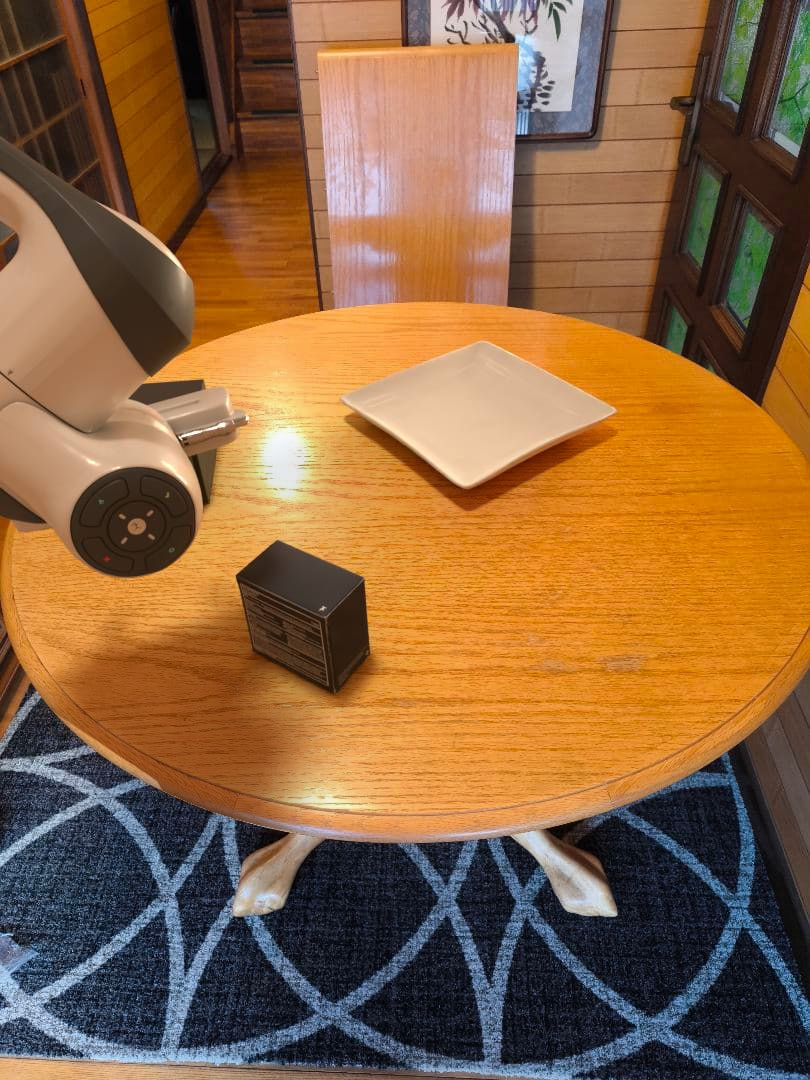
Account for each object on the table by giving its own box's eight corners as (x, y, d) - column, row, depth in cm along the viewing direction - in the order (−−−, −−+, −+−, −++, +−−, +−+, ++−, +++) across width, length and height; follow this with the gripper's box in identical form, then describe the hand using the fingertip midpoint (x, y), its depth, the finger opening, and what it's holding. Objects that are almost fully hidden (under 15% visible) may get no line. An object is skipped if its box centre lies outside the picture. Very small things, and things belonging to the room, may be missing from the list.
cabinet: (209, 503, 93) (193, 438, 87) (112, 511, 93) (89, 446, 86) (217, 441, 104) (203, 378, 97) (130, 448, 103) (111, 385, 96)
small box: (374, 651, 75) (369, 575, 68) (335, 697, 71) (325, 621, 64) (291, 610, 80) (277, 535, 73) (249, 651, 76) (231, 575, 69)
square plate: (617, 432, 103) (621, 407, 101) (463, 512, 91) (464, 487, 88) (483, 357, 120) (484, 334, 117) (337, 417, 107) (335, 393, 105)
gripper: (243, 382, 59) (213, 360, 71) (-42, 460, 53) (-21, 421, 65) (264, 459, 61) (233, 425, 73) (-4, 541, 56) (9, 489, 67)
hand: (112, 424), depth 69 cm, fingers open, 8 cm apart
